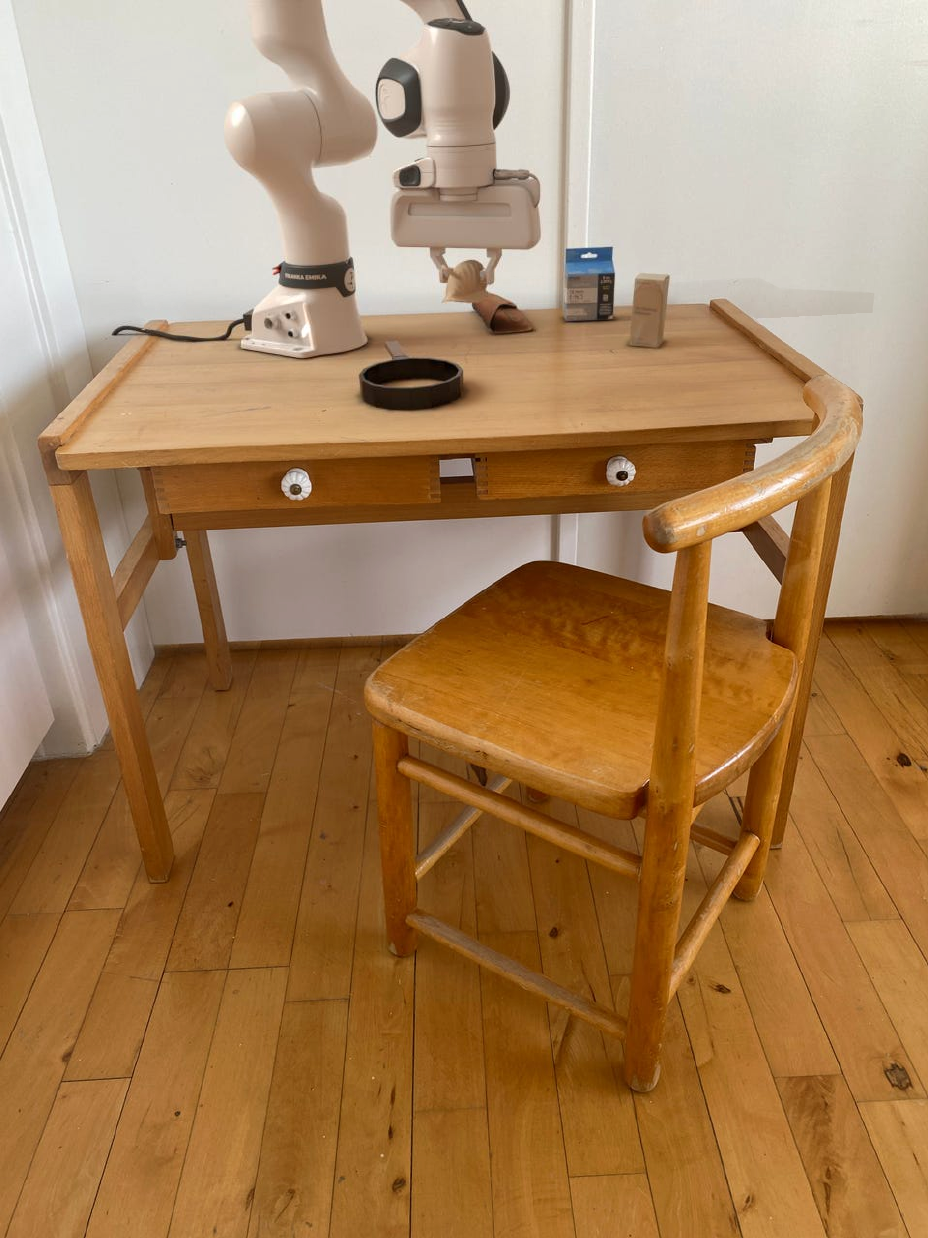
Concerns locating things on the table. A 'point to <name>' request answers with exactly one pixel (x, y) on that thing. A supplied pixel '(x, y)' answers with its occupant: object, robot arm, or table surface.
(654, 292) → the box
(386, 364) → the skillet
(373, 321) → the table surface
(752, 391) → the table surface
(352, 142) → the robot arm
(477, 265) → the decorative ornament
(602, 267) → the label tape box
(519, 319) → the sunglasses case
